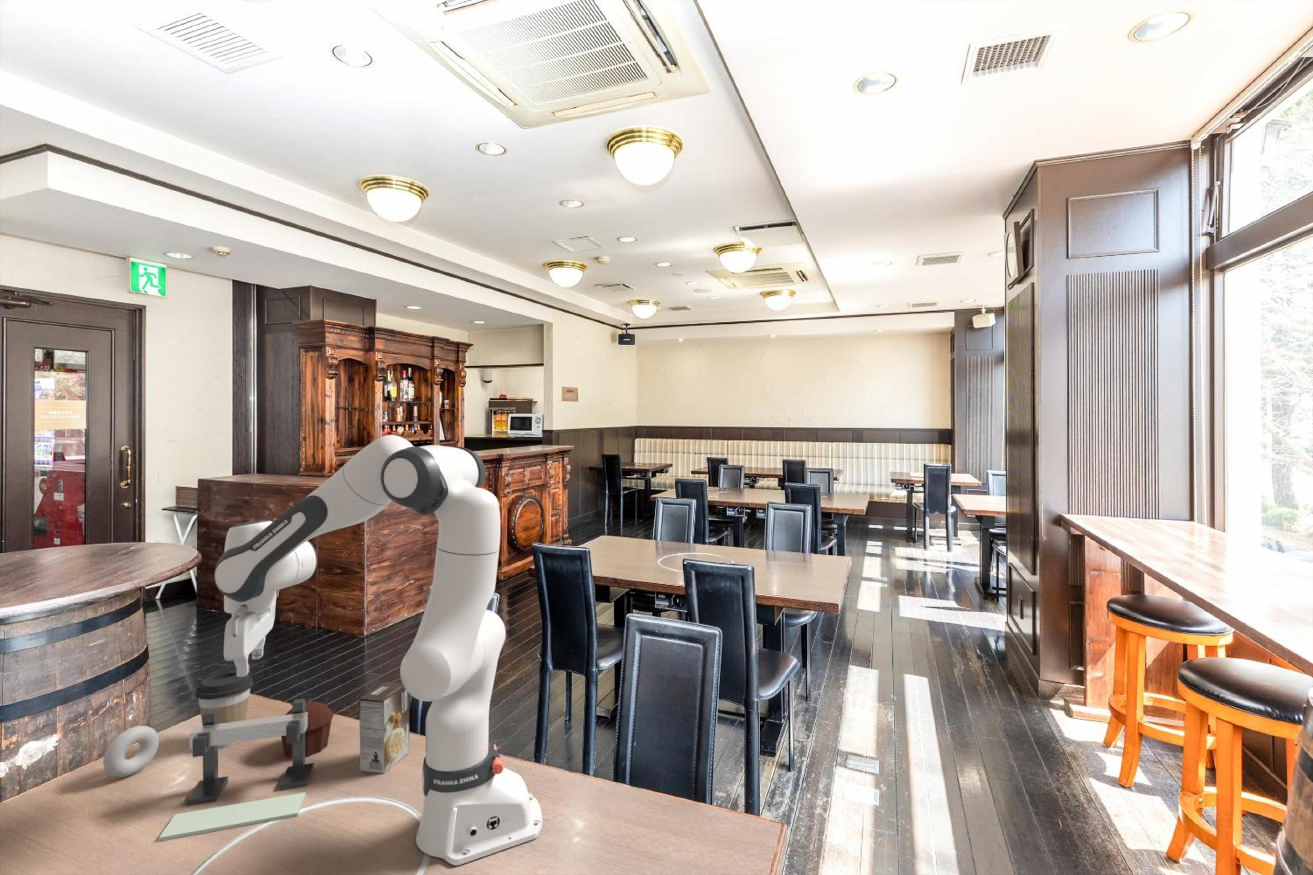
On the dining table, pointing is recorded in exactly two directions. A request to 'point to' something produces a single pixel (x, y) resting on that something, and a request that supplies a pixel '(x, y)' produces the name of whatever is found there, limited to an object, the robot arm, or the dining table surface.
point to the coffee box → (384, 727)
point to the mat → (233, 816)
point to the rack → (214, 786)
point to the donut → (117, 748)
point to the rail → (249, 729)
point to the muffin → (313, 729)
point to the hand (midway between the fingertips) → (250, 666)
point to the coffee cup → (225, 697)
